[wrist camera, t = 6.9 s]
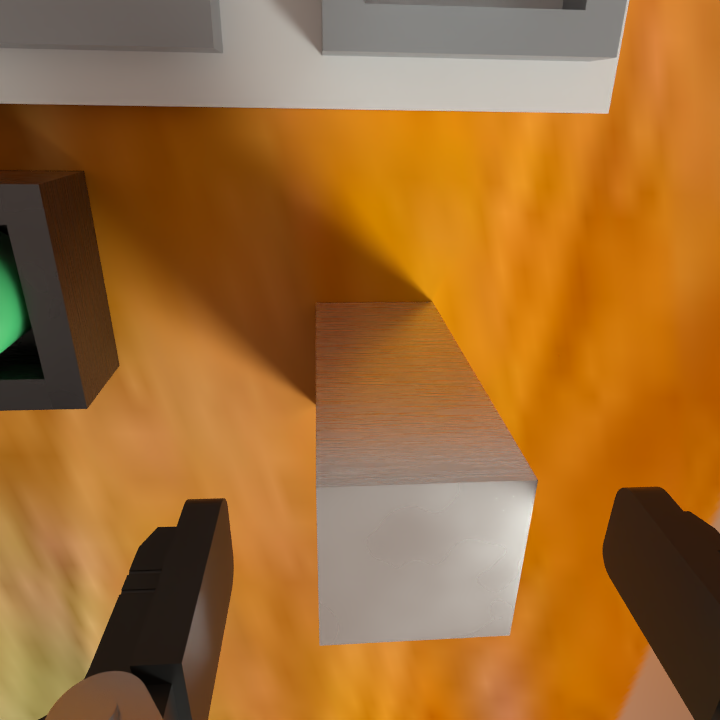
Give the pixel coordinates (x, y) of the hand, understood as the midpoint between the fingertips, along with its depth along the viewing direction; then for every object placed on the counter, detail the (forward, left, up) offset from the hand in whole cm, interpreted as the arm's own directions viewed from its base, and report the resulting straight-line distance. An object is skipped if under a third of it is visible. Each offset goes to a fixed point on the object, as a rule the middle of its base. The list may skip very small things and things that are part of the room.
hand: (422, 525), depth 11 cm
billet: (0, 0, -9) cm, 9 cm away
